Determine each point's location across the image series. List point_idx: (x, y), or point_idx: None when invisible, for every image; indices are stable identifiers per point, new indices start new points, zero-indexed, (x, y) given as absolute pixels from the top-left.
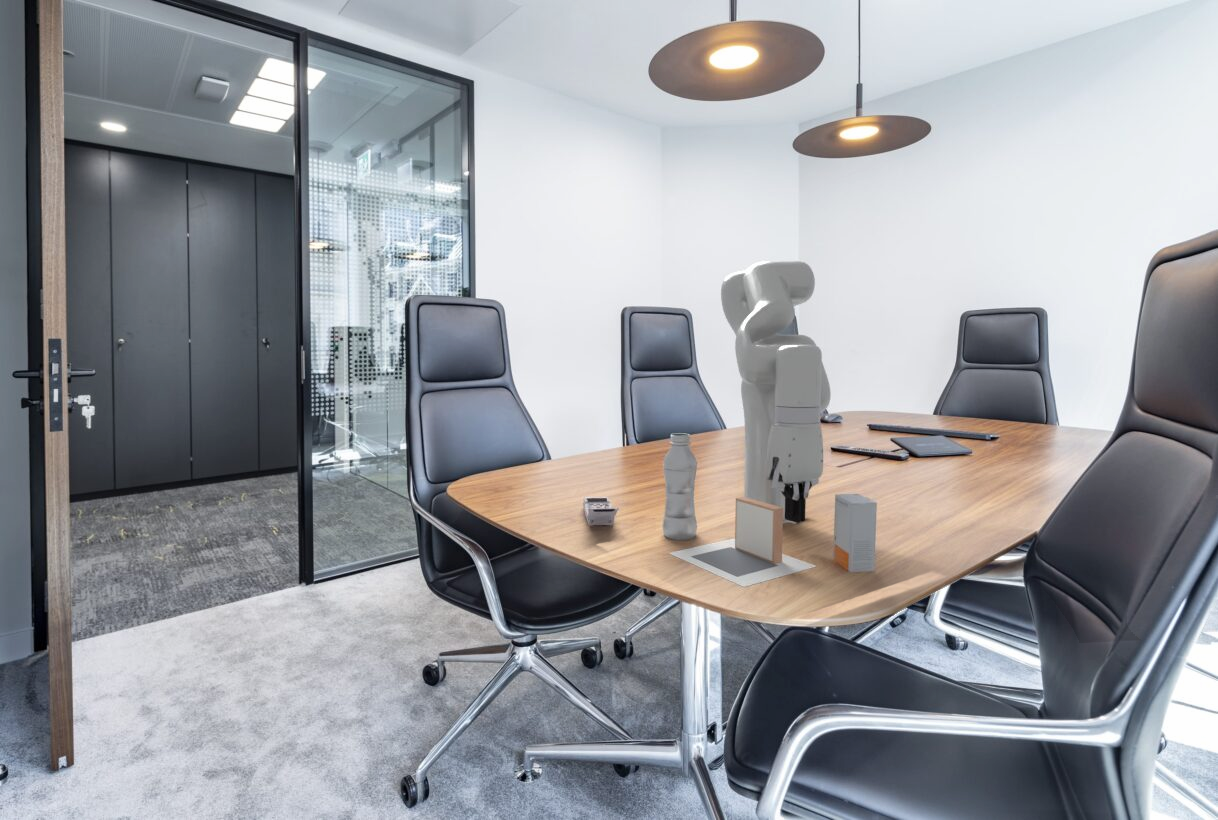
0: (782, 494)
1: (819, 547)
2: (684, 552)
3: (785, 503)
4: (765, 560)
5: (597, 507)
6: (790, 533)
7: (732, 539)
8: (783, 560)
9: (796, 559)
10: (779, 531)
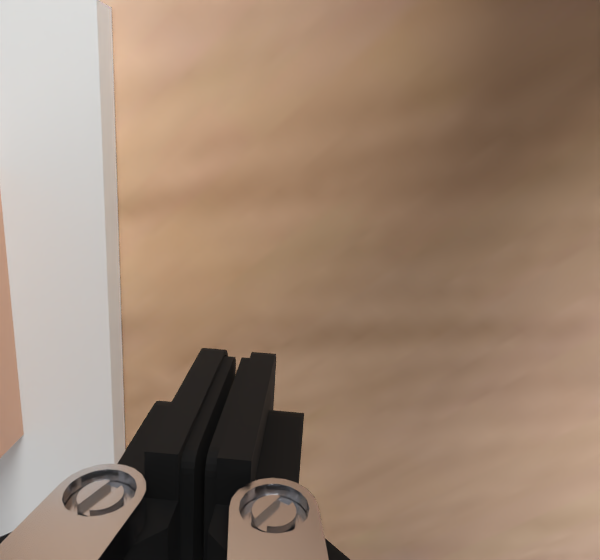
0: (52, 493)
1: (436, 358)
2: None
3: (167, 415)
4: None
5: None
6: (560, 84)
7: (37, 10)
8: (42, 429)
9: (105, 456)
10: None
